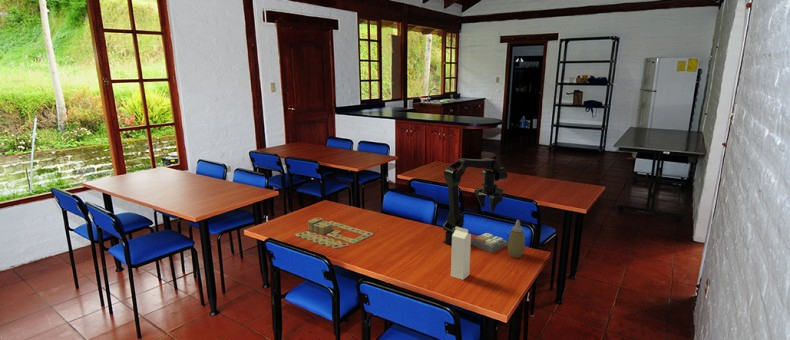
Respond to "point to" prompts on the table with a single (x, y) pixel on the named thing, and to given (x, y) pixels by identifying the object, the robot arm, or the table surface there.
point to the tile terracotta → (480, 239)
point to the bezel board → (487, 247)
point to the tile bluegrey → (497, 239)
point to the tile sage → (487, 235)
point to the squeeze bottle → (516, 241)
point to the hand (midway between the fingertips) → (487, 210)
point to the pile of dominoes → (331, 233)
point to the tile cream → (490, 242)
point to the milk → (460, 253)
